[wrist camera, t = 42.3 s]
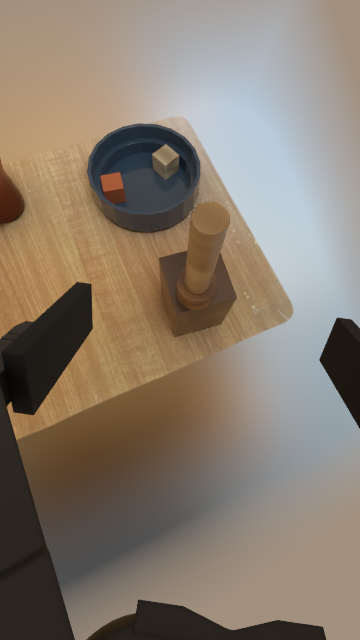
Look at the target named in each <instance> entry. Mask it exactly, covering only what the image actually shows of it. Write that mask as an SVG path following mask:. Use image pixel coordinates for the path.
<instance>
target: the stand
mask: <svg viewBox="0 0 360 640" xmlns="http://www.w3.org/2000/svg"><path fill="white" fill-rule="evenodd" d="M186 260H187V251H185V252H181V253H177V254H173V255H169V256H165V257H161V258H159V268H160V280H161V293H162V296H163V300H164V303H165V306H166V310H167V313H168V316H169V320H170V323H171V326H172V330H173V333H174V336H175V337H177V336H180V335H184V334H187V333H191V332H194V331H198V330H201V329H205V328H208V327H212V326H215V325H219V324H221V323H222V322H223V320H224V318H225V317H226V315H227V313H228V312H229V310H230V308H231V307H232V305H233V303H234V301H235V300H236V298H237V296H236V293H235V291H234V288H233V286H232V283H231V280H230V278H229V275H228V272H227V270H226V267H225V264H224V262H223V259H222V256H221V254H219V258H218V261H217V264H216V267H215V270H214V273H215V275H216V277H217V281H218V286H217V290H216V292H215V295H214V298H213V300H212V302H211V303H210V304H209V305H208V306H207V307H205V308H203V309H199V310H192V309H188V308H186V307H184V306H183V305H182V304H181V303H180V302H179V300H178V298H177V295H176V282H177V276H178V274H179V272H180V271H181V270H182V269H183V268H184V267H186Z"/></svg>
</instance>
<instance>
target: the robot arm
mask: <svg viewBox="0 0 360 640" xmlns="http://www.w3.org/2000/svg"><path fill="white" fill-rule="evenodd" d="M92 329H93V325H92V290H91V284H87V283H80V282H77V283H76V284H75V285H73V286H72V287H71V288H70V289H69V290H68V291H67V292H66V293H65V294H64V295H63V296H62V297H60V298H59V299H58V300H57V301H56V302H55V303H54V304H53V305H52V306H51V307H50V308H48V309H47V310H46V311H45V312H44V313H43V314H42V315H41V316H40V317H39V318H38V319H37V320H35V321H34V322H29V321H25V322H23V323H21V324H19V325H16V326H15V327H13V328H12V329H11V330H10V331H9V332H8V333H7V334H5V335H4V336H3V337H2V338H1V339H0V640H75V639H74V635H73V632H72V628H71V625H70V621H69V618H68V614H67V611H66V608H65V604H64V601H63V597H62V594H61V591H60V587H59V583H58V580H57V577H56V573H55V569H54V566H53V563H52V559H51V556H50V553H49V550H48V548H47V546H46V543H45V540H44V536H43V533H42V529H41V526H40V522H39V519H38V515H37V512H36V508H35V505H34V501H33V498H32V494H31V491H30V487H29V484H28V480H27V477H26V473H25V470H24V466H23V463H22V459H21V456H20V452H19V449H18V445H17V442H16V438H15V435H14V431H13V428H12V424H11V421H10V417H9V414H8V410H7V405H8V404H9V403H10V402H12V407H13V412H15V413H22V414H29V415H34V414H35V412H36V411H37V409H38V408H39V406H40V405H41V404H42V402H43V401H44V399H45V398H46V396H47V395H48V393H49V392H50V390H51V389H52V387H53V386H54V385H55V383H56V382H57V380H58V379H59V377H60V376H61V374H62V373H63V371H64V370H65V368H66V367H67V365H68V364H69V363H70V361H71V360H72V358H73V357H74V355H75V354H76V352H77V351H78V349H79V348H80V346H81V345H82V343H83V342H84V341H85V339H86V338H87V336H88V335H89V333H90V332H91V330H92ZM320 362H321V364H322V365H323V367H324V369H325V370H326V372H327V374H328V376H329V377H330V379H331V381H332V382H333V384H334V385H335V387H336V389H337V391H338V392H339V394H340V396H341V398H342V399H343V401H344V403H345V404H346V406H347V408H348V409H349V411H350V413H351V415H352V416H353V418H354V420H355V421H356V423H357V425H358V426H359V428H360V328H359V327H358V326H357V325H356V324H355V323H354V322H353V321H352V320H351V319H343V318H337V319H336V321H335V324H334V326H333V328H332V331H331V333H330V336H329V338H328V341H327V343H326V345H325V348H324V350H323V353H322V355H321V357H320ZM87 640H326V637H325V633H324V629H323V627H320V626H313V625H307V624H300V623H293V622H286V621H280V620H276V621H272V622H268V623H264V624H259V625H255V626H251V627H246V628H242V629H238V630H229V629H226V628H224V627H222V626H220V625H219V624H216V623H215V622H213V621H211V620H209V619H207V618H205V617H203V616H201V615H199V614H197V613H195V612H193V611H191V610H189V609H187V608H186V607H183V606H178V605H171V604H164V603H157V602H151V601H143V600H138V604H137V611H136V613H135V614H130V615H126V616H123V617H120V618H118V619H116V620H113V621H111V622H110V623H108V624H107V625H104V626H103V627H101V628H100V629H99V630H97V631H96V632H95V633H93V634H92V635H91V636H90V637H89V638H88V639H87Z"/></svg>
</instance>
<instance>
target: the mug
mask: <svg viewBox="0 0 360 640" xmlns="http://www.w3.org/2000/svg"><path fill="white" fill-rule="evenodd" d="M23 208H24V201H23V198H22V195H21V194H20V191H19V190H18V188H17V187H16V186H15V184H14V183H13V182H12V180H11V179H10V178H9V176H8V175H7V174H6V172H5V171H4V169H3V166H2V163H1V160H0V223H7V222H11V221H13V220H14V219H16V218H17V217H18V216H19V215H20V214H21V213H22V211H23Z"/></svg>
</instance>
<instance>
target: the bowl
mask: <svg viewBox="0 0 360 640" xmlns="http://www.w3.org/2000/svg"><path fill="white" fill-rule="evenodd" d="M165 144H167V145H168V146H169V147H170V148H171V149H173V150H174V151H175V152H176V153H177V154H178V155H179V170H178V171H177V172H176V173H174V174H173V175H172V176H170V177H169V178H168V179H166V180H165V179H164V178H163V177H161V176H160V175H159V174H158V173H157V172H156V171H155V170H153V160H152V154H153V153H154V152H156V151H157V150H159V149H160V148H161V147H163V146H164V145H165ZM118 172H120V175H121V179H122V183H123V187H124V192H125V197H126V202H122V203H117V204H113V203H111V202H110V201H108V200H107V199H106V197H105V195H104V192H103V187H102V182H101V178H100V176H101V175H107V174H113V173H118ZM87 173H88V177H89V181H90V185H91V188H92V191H93V194H94V196H95V199H96V202H97V205H98V206H99V208H100V209H101V210H102V212H103V213H104V215H105V216H106V217H107V218H108V219H110V220H111V221H113V222H114V223H116V224H117V225H118V226H121V227H124V228H127V229H130V230H133V231H143V232H154V231H158V230H162V229H166V228H169V227H171V226H173V225H175V224H176V223H178V222H180V221H181V220H183V219H184V218H185V216H186V215H187V214H188V213H189V212H190V211H191V210H192V209H193V206H194V204H195V201H196V199H197V196H198V190H199V181H200V160H199V158H198V155H197V153H196V150H195V148H194V147H193V146H192V145H191V143H190V142H189V141H188V140H187V139H186V138H185V137H184V136H182V135H181V134H179V133H177V132H176V131H174V130H172V129H170V128H167V127H163V126H160V125H157V124H134V125H129V126H124V127H122V128H119V129H117V130H115V131H113V132H111V133H109V134H107V135H106V136H105V137H104V138H103V139H102V140H100V141H99V142H98V143H97V144H96V146H95V148H94V149H93V151H92V153H91V155H90V156H89V161H88V168H87Z"/></svg>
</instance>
